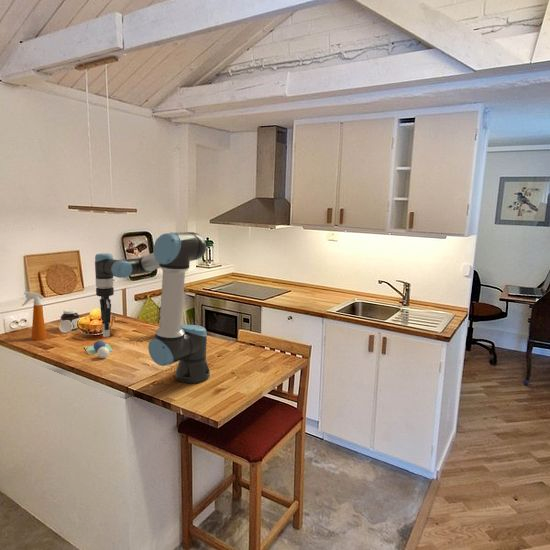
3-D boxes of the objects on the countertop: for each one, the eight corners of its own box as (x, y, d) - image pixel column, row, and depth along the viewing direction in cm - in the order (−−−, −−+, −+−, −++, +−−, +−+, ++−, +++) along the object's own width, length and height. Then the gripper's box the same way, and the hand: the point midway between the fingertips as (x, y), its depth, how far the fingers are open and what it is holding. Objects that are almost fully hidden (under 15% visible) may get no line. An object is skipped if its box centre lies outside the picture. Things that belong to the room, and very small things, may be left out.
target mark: (113, 351, 210) (113, 350, 210) (87, 354, 203) (87, 354, 203) (108, 344, 219) (108, 343, 219) (83, 347, 213) (83, 347, 213)
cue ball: (107, 343, 202) (107, 353, 204) (95, 345, 199) (95, 355, 201) (110, 349, 198) (110, 359, 200) (98, 351, 195) (98, 361, 197)
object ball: (106, 340, 207) (103, 339, 212) (94, 342, 204) (92, 340, 209) (106, 351, 207) (104, 349, 212) (95, 353, 204) (92, 351, 209)
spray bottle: (23, 338, 222) (20, 290, 218) (45, 335, 228) (43, 289, 224) (23, 342, 216) (21, 293, 212) (47, 339, 222) (44, 291, 218)
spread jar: (78, 326, 247) (77, 307, 246) (83, 331, 239) (82, 311, 237) (55, 329, 240) (55, 310, 238) (60, 334, 231) (59, 314, 229)
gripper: (116, 288, 187) (118, 338, 190) (110, 284, 197) (111, 331, 201) (99, 290, 182) (100, 341, 186) (93, 285, 193) (95, 333, 197)
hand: (106, 336), depth 193 cm, fingers closed
